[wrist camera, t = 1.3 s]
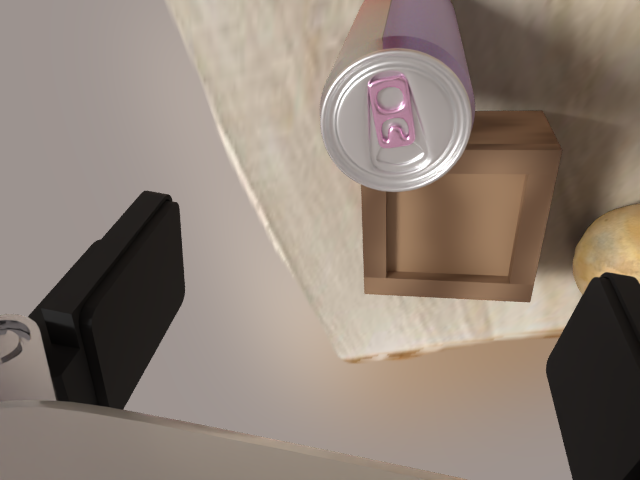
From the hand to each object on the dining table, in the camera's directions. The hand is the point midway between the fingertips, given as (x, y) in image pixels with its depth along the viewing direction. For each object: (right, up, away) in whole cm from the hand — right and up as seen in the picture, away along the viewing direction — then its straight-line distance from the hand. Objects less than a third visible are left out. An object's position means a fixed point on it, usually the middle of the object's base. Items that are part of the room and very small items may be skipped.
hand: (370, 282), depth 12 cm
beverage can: (+4, +14, +20) cm, 24 cm away
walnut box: (+8, +5, +25) cm, 27 cm away
